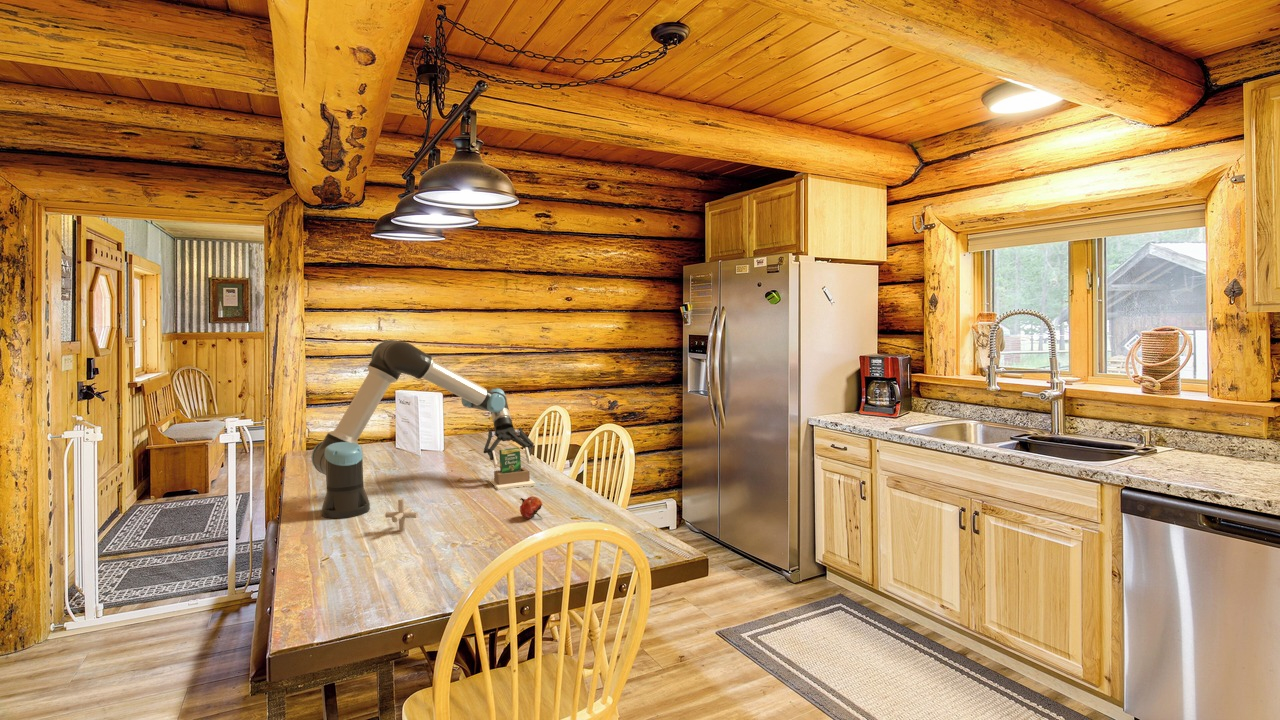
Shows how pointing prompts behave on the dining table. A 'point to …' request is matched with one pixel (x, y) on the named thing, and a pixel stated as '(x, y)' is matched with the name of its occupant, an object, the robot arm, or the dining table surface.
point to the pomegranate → (530, 507)
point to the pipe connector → (401, 514)
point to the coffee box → (510, 460)
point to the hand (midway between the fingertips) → (513, 464)
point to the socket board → (512, 479)
